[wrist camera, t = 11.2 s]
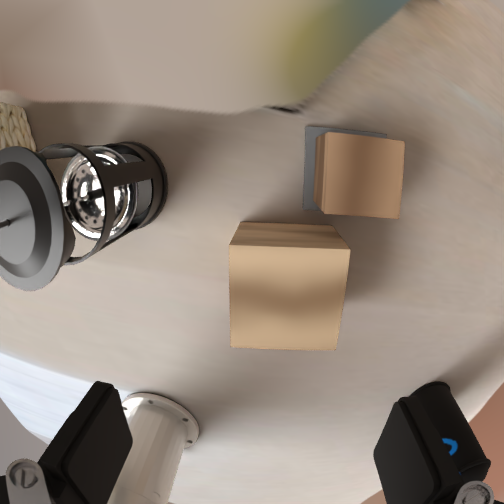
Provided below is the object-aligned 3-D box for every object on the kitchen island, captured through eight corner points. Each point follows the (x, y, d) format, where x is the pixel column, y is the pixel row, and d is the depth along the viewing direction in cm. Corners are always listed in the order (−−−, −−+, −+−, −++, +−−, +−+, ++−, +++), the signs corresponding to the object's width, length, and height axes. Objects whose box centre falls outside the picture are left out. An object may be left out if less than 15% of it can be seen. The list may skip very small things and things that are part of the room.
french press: (153, 122, 28) (-46, 97, 6) (188, 206, 30) (25, 320, 8) (70, 173, 30) (-106, 220, 8) (101, 247, 32) (-53, 356, 11)
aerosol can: (458, 380, 35) (514, 477, 16) (434, 418, 38) (474, 512, 19) (415, 381, 35) (467, 496, 16) (393, 420, 38) (426, 528, 19)
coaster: (380, 213, 29) (381, 214, 29) (302, 209, 30) (303, 209, 29) (385, 134, 27) (386, 134, 26) (305, 126, 27) (305, 126, 27)
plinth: (323, 307, 33) (335, 350, 25) (240, 304, 33) (230, 347, 26) (331, 225, 30) (350, 249, 22) (240, 222, 30) (229, 245, 23)
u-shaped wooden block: (376, 143, 27) (404, 141, 20) (372, 204, 28) (398, 218, 22) (315, 137, 27) (328, 132, 20) (313, 200, 29) (324, 213, 22)
